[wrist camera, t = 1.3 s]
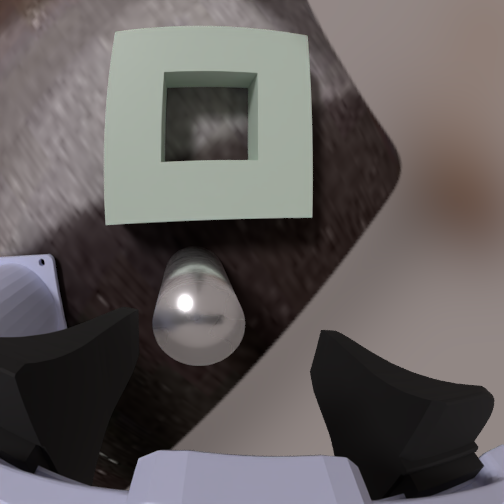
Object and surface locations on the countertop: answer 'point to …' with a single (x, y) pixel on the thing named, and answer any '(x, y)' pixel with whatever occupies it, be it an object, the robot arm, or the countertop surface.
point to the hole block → (208, 171)
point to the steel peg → (197, 309)
